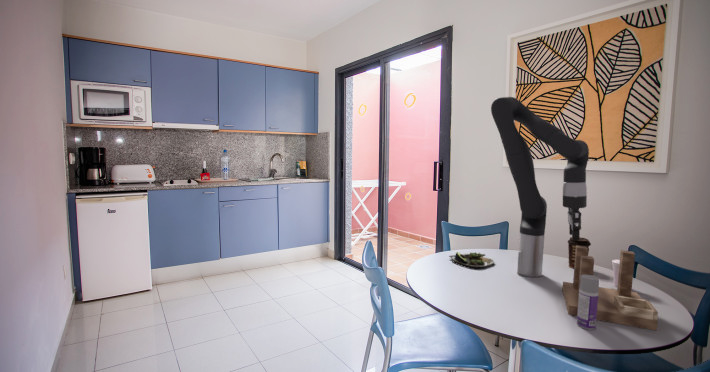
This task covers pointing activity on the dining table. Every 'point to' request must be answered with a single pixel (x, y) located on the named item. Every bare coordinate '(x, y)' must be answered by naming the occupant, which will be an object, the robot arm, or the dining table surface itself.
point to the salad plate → (472, 260)
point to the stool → (612, 294)
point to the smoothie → (615, 271)
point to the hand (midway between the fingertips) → (574, 237)
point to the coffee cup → (572, 248)
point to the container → (588, 302)
